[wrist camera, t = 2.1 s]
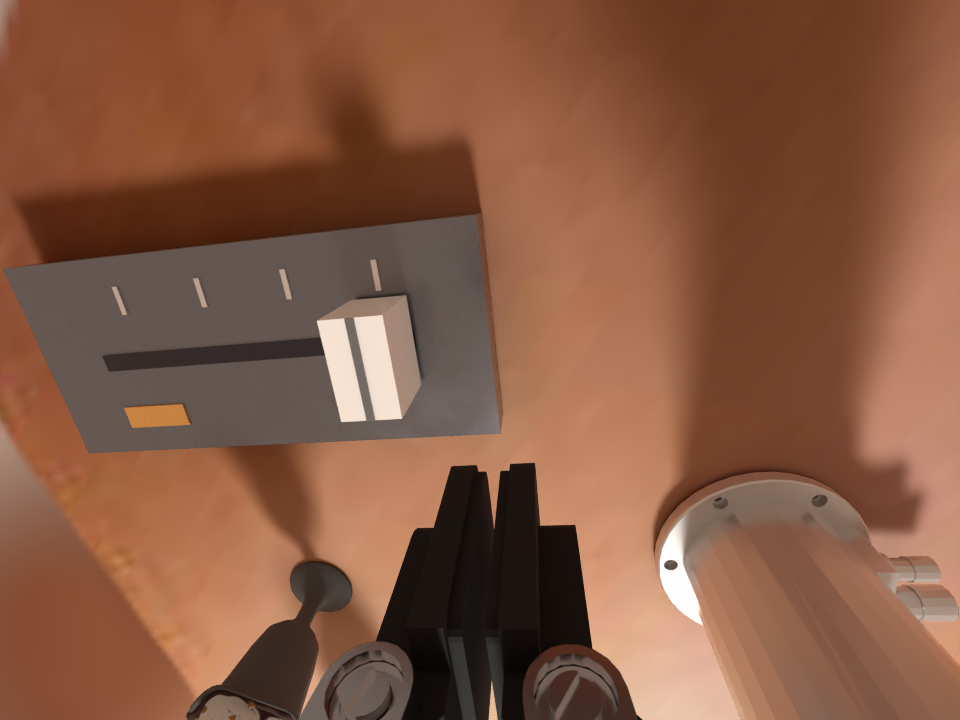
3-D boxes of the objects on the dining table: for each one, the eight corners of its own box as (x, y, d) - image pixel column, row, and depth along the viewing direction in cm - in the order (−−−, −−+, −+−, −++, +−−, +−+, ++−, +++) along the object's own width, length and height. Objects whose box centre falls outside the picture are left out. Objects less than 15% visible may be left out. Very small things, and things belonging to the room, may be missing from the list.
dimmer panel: (481, 212, 24) (476, 214, 22) (502, 413, 28) (500, 434, 26) (47, 262, 28) (1, 269, 25) (121, 434, 32) (87, 454, 29)
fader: (406, 294, 23) (381, 315, 19) (421, 384, 25) (401, 419, 21) (350, 300, 24) (315, 321, 20) (369, 388, 25) (340, 423, 21)
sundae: (288, 540, 34) (116, 787, 20) (372, 571, 34) (262, 838, 20) (271, 599, 36) (108, 858, 22) (351, 628, 36) (239, 902, 22)
